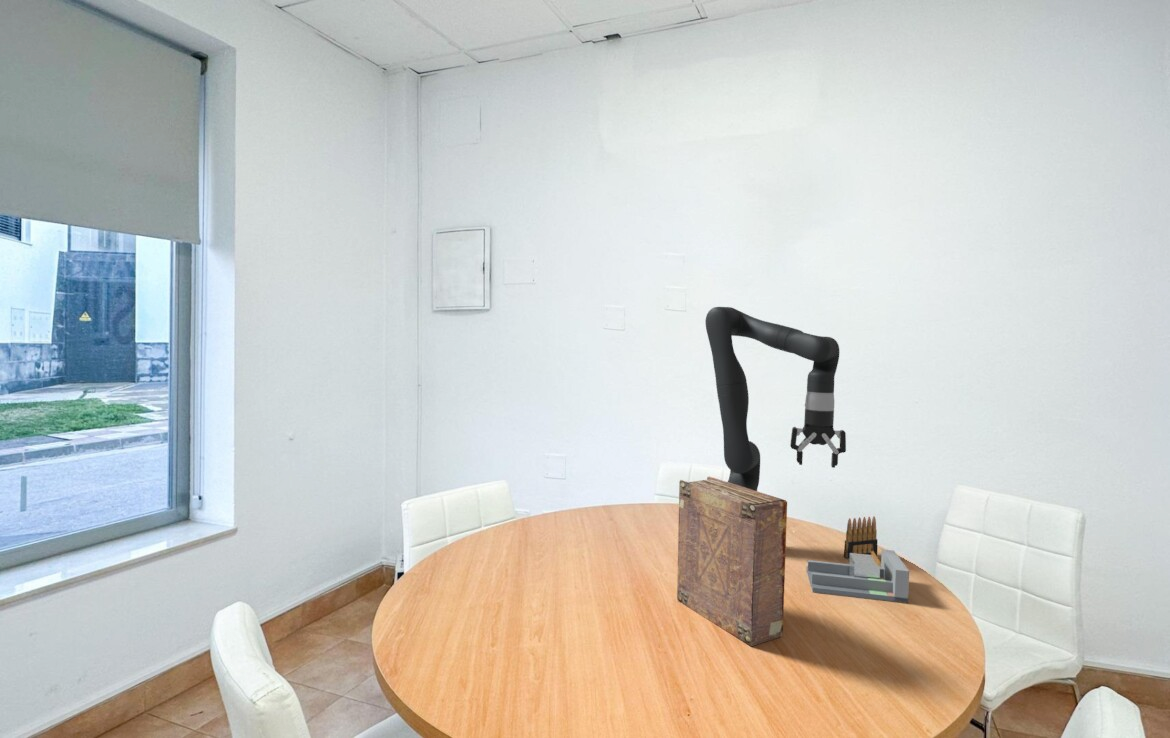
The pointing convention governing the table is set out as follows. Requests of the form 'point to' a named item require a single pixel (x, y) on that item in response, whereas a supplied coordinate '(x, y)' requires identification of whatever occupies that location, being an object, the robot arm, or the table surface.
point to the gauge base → (862, 580)
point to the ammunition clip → (860, 537)
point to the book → (732, 557)
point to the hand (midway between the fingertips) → (816, 465)
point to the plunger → (864, 565)
